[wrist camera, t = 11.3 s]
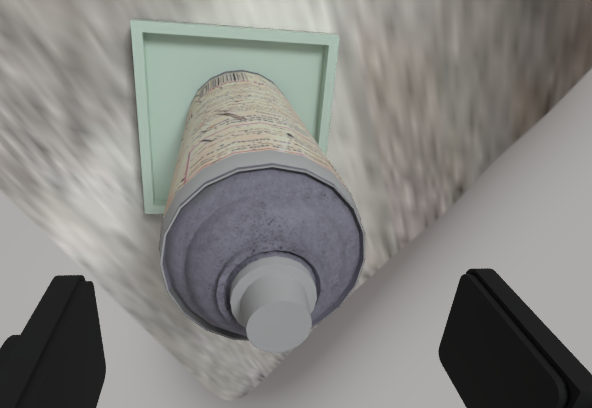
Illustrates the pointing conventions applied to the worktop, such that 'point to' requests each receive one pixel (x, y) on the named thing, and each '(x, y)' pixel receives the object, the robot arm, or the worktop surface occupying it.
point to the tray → (209, 63)
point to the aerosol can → (256, 219)
